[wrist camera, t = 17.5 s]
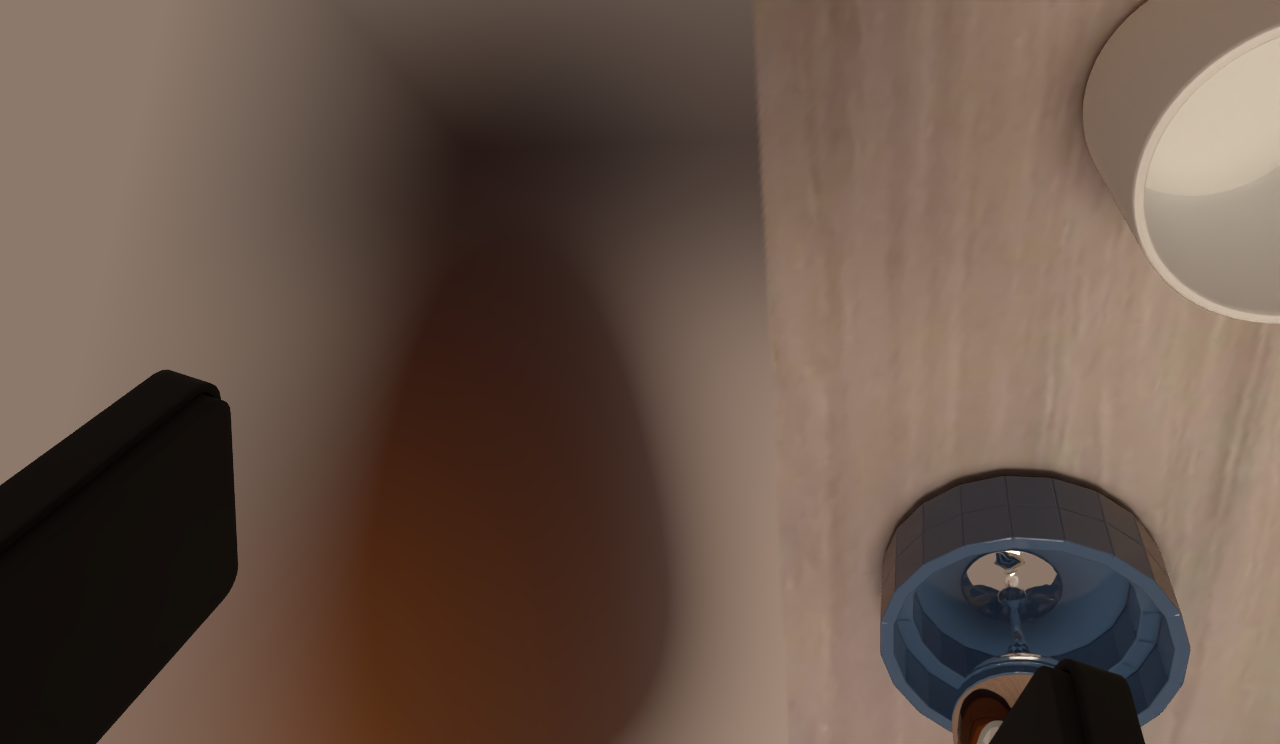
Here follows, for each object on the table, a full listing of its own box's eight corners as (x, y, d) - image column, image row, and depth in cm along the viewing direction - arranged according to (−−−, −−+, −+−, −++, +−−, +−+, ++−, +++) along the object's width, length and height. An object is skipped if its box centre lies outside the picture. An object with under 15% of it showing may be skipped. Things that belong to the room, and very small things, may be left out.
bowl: (851, 622, 48) (845, 697, 44) (935, 434, 42) (936, 500, 37) (1090, 701, 47) (1107, 786, 42) (1214, 518, 40) (1249, 597, 36)
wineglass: (1104, 599, 43) (1162, 832, 33) (996, 648, 46) (1018, 876, 36) (1026, 516, 42) (1061, 730, 32) (920, 572, 45) (921, 784, 35)
